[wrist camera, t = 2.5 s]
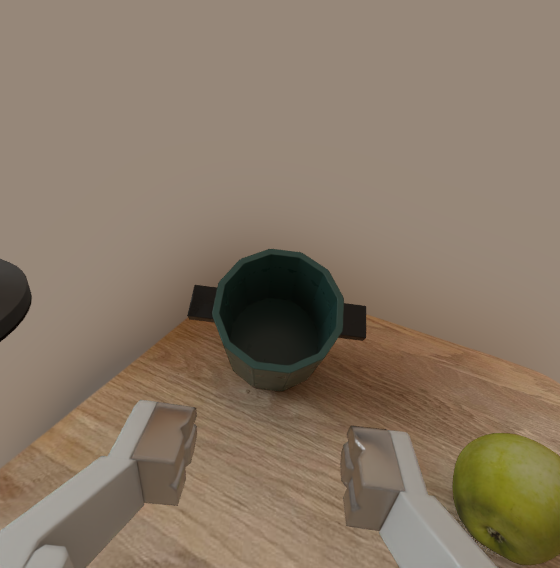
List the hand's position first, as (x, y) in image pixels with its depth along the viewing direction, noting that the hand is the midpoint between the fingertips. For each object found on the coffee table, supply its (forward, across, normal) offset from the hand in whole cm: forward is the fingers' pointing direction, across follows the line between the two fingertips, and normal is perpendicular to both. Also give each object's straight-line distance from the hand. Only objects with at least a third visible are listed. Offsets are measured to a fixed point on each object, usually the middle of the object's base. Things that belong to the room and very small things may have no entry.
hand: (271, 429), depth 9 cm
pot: (+24, 0, +17) cm, 29 cm away
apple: (+9, -19, +20) cm, 29 cm away
